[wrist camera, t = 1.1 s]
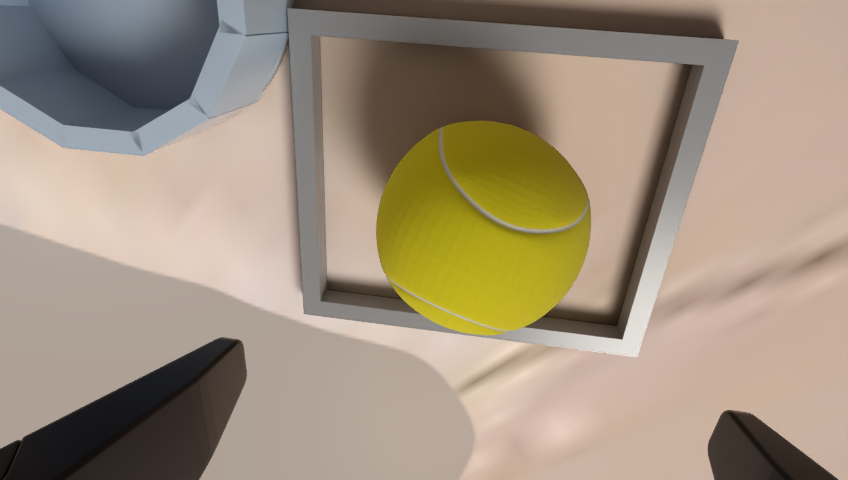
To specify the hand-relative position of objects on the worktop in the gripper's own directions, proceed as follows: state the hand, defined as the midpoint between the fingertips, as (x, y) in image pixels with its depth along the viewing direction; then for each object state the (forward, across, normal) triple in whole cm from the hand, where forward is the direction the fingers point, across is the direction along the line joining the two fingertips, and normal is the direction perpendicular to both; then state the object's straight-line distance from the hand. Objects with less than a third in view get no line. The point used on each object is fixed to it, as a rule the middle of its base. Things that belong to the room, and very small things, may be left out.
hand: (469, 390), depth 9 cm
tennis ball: (+12, 0, 0) cm, 12 cm away
